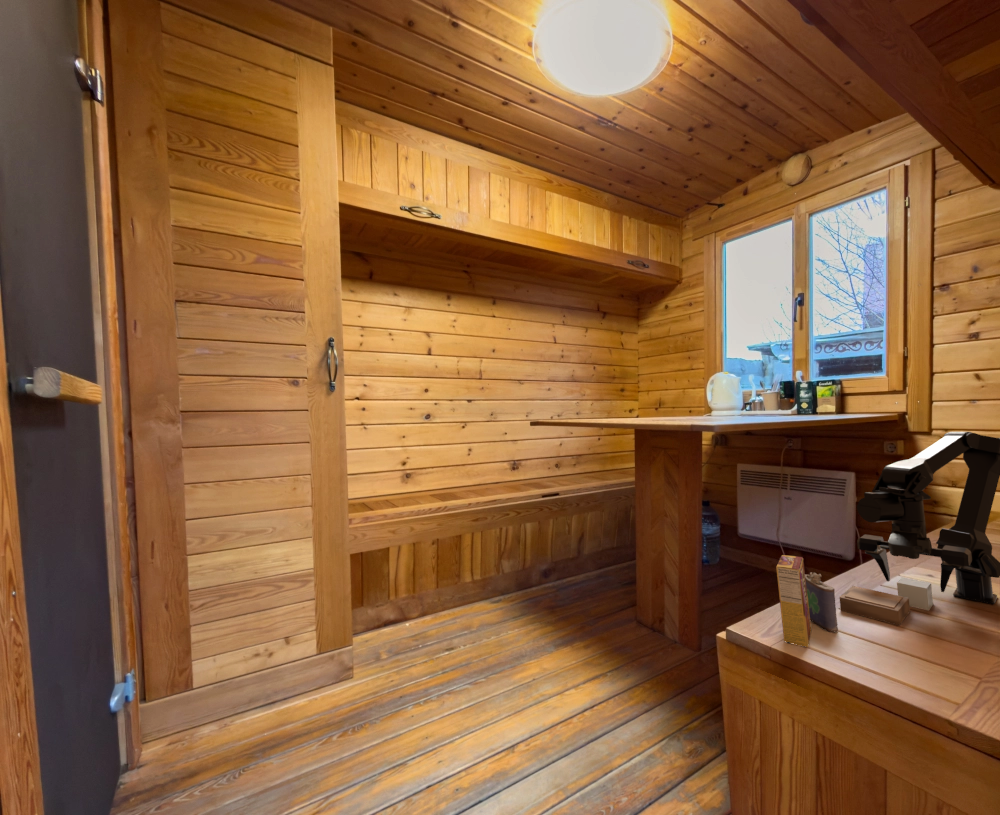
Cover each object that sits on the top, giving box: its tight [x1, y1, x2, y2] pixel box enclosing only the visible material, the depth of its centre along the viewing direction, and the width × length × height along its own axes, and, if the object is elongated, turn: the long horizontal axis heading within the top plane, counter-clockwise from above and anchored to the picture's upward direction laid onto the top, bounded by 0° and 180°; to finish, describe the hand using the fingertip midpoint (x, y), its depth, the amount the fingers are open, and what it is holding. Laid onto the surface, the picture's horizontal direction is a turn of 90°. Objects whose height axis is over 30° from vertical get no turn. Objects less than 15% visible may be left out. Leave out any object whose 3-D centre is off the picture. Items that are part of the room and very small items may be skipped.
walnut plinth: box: [839, 585, 911, 626], centre depth 96 cm, size 10×10×3 cm
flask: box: [805, 572, 839, 634], centre depth 92 cm, size 9×3×11 cm, turn 172°
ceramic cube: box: [896, 576, 934, 611], centre depth 98 cm, size 5×5×5 cm
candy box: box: [775, 554, 812, 648], centre depth 87 cm, size 9×4×15 cm, turn 140°
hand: (914, 586), depth 98 cm, fingers open, 9 cm apart
